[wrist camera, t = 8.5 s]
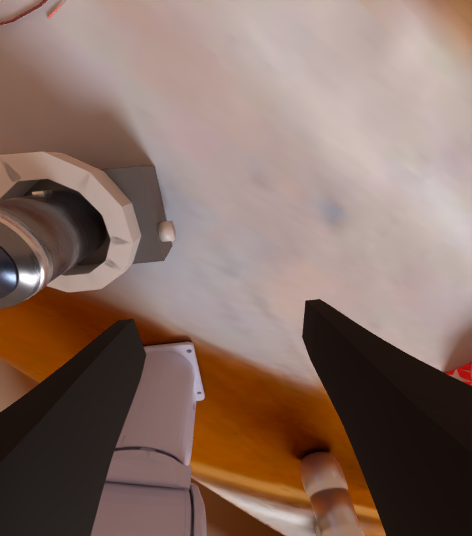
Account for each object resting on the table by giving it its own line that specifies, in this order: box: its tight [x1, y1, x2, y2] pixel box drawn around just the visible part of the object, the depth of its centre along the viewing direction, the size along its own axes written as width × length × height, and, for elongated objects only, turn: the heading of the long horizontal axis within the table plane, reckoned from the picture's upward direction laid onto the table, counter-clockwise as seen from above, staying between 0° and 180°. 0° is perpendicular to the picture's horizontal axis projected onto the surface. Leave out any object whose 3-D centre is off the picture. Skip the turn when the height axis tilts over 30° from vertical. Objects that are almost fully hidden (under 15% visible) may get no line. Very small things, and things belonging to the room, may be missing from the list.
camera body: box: [0, 151, 175, 292], centre depth 14 cm, size 8×11×4 cm
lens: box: [0, 190, 106, 308], centre depth 10 cm, size 4×4×6 cm
